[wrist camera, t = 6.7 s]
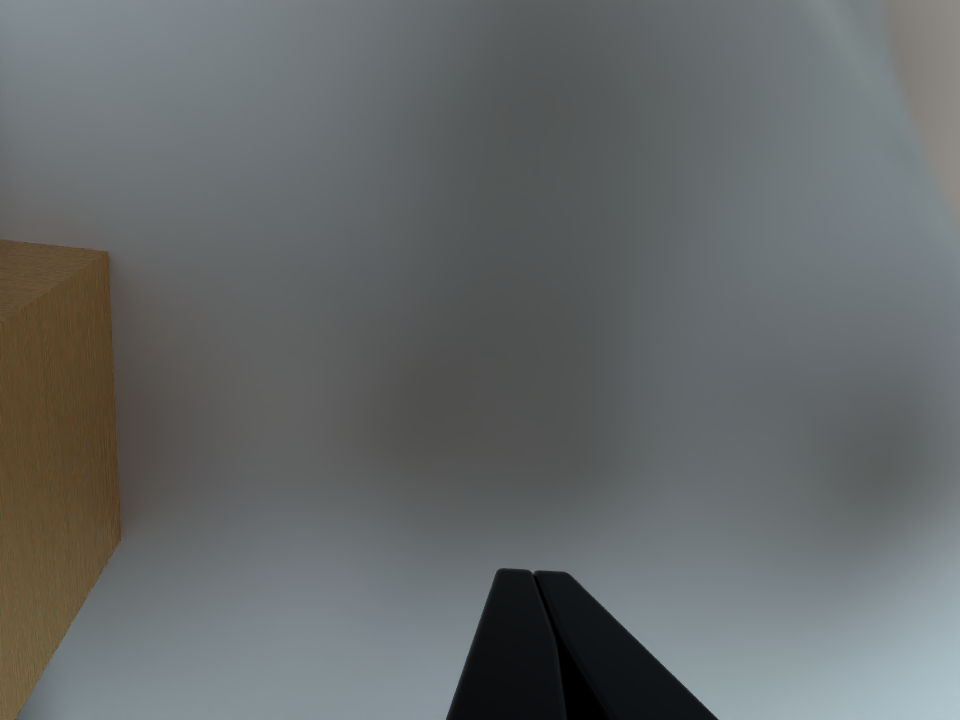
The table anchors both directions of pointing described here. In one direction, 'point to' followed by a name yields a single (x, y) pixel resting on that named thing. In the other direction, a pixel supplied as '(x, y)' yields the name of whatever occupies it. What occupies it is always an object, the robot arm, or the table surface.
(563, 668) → the robot arm
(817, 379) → the table surface
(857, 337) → the table surface
